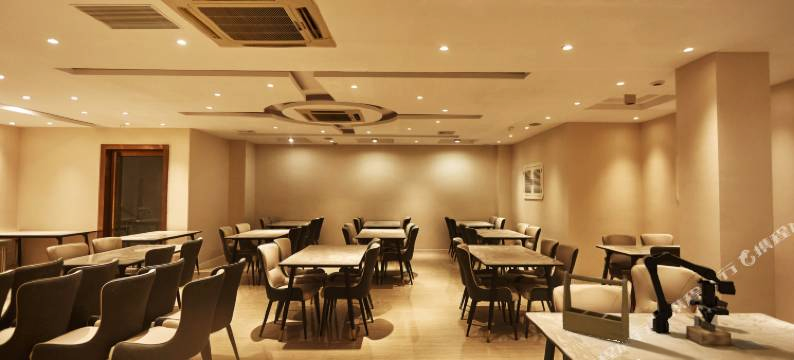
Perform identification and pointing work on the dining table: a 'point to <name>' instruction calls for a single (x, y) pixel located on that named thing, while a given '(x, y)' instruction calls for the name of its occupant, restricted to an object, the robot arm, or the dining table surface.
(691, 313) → the tan wooden bar
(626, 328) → the caddy
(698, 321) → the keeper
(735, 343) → the mat
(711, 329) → the lid
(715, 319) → the jar
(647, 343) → the dining table surface
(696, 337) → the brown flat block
